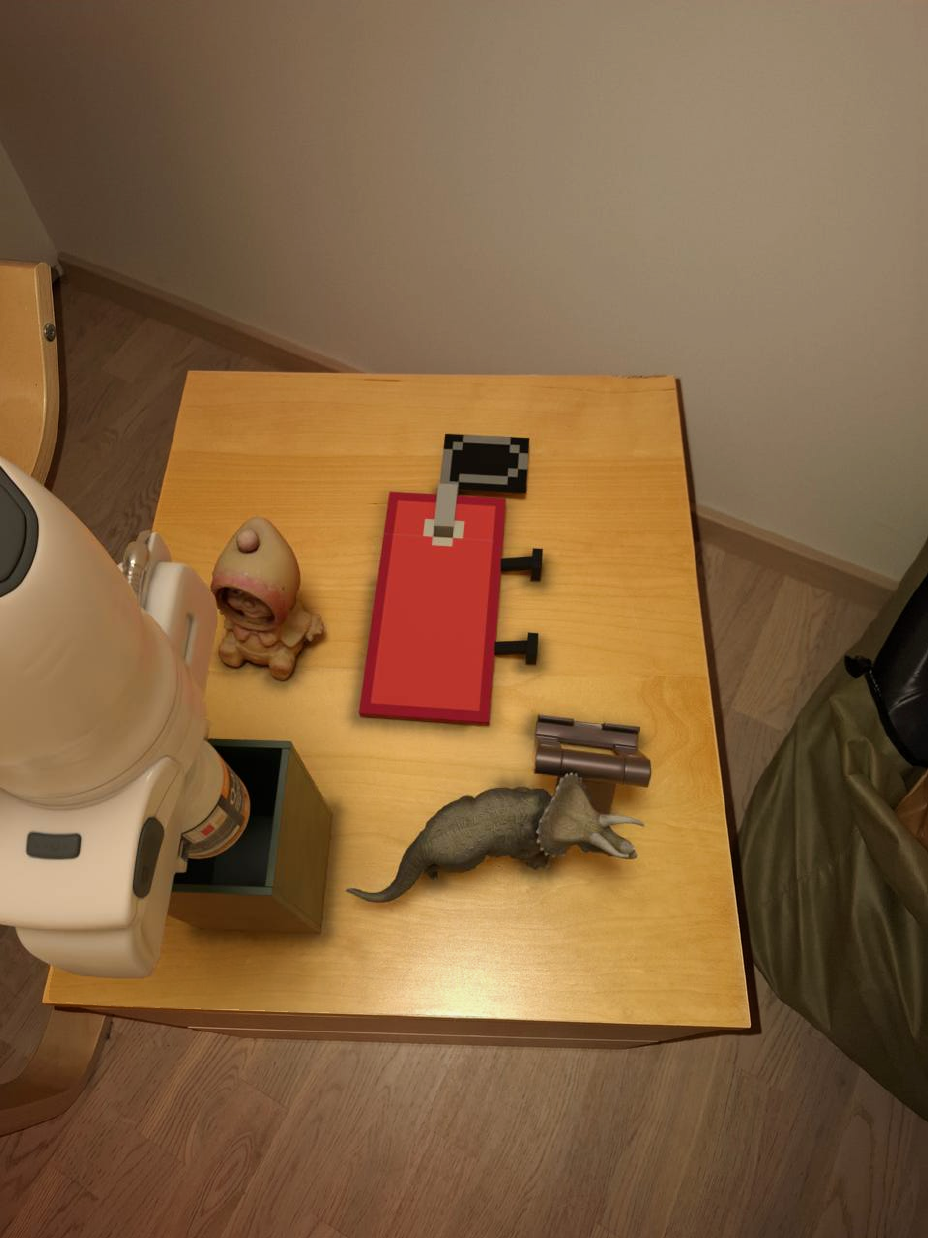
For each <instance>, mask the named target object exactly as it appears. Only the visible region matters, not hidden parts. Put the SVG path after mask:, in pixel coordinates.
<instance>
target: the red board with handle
mask: <svg viewBox="0 0 928 1238" xmlns="http://www.w3.org/2000/svg"><path fill="white" fill-rule="evenodd" d="M529 449H530V437H516V436H497V435H481V434H480V435H478V434H460V433H445V434H444V442H443V449H442V459H441V467H440V477H439V483H438V484H437V493H419V492H404V491H403V492H400V491H389V493H388V498H387V507H386V514H385V521H384V528H383V535H382V543H381V549H380V556H379V564H378V571H377V579H376V586H375V592H374V599H373V608H372V614H371V622H370V629H369V636H368V642H367V650H366V658H365V664H364V672H363V677H362V678H363V679H362V687H361V694H360V701H359V707H358V715H359V717H366V718H379V719H392V720H404V721H405V720H406V721H419V722H420V721H421V722H422V721H423V722H433V723H448V724H449V723H450V724H461V725H462V724H463V725H475V726H476V725H477V726H479V725H480V726H490V720H491V708H492V694H493V679H494V667H495V666H494V665H495V656H517V655H519V656H520V655H525V665H528V666H529V665H531V666H536V665H537V660H538V653H539V652H538V651H539V636H540V635H539V632H530V631H529V632H527V638H526V639H524V640H523V639H522V640H497V641H496V639H497V627H498V615H499V614H498V612H499V601H500V600H499V599H500V586H501V573H508V572H524V571H525V572H526V571H530V579H529V580H530V582H541V580H542V573H543V572H542V570H543V556H544V548H534V547H533V548H532V552H531V555H530V556H515V557H503V547H504V533H505V522H506V521H505V520H506V506H507V498H506V497H491V496H475V495H474V496H471V495H459V491H467V492H468V491H469V492H487V493H488V492H489V493H504V494H506V493H507V494H519V495H521V494H523V495H525V494H527V483H528V466H529V452H530V451H529Z"/></svg>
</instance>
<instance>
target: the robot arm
mask: <svg viewBox="0 0 928 1238" xmlns="http://www.w3.org/2000/svg"><path fill="white" fill-rule="evenodd" d="M218 618H219V614H218V608H217V604H216V599H215V596H214V594H213V593H212V591H211V588H210V586H208V584H207V583H206V581H205V580H204V579H203V578H202V577H201V576H200V575H199V573H198V572H197V571H196V570H195V569H194V568H193V567H191V566H190V565H189V564H187V563H185V562H179V561H172V555H171V551H170V549H169V547H168V546H167V544H166V542H165V540H164V539H163V537H162V535H160V533H159V532H158V531H154V530H151V529H145V530H142V531H141V532H139V534H138V536H137V538H136V540H134V541H130V542H129V543H128V545H127V546H126V548H125V551H124V554H123V558H122V561H121V562H120V563H118V564H117V563H116V562H115V560H114V559H113V558H112V557H111V555H110V553H108V551H107V549H106V548H105V547H104V546H103V545H102V544H101V542H100V541H99V540H98V539H97V537H96V536H95V535H94V534H93V533H92V531H91V530H90V528H88V527H87V526H86V525H85V523H84V522H83V521H82V520H81V519H80V518H79V517H78V516H77V515H76V514H75V513H74V512H73V511H72V510H71V509H70V508H69V507H68V506H67V505H66V504H65V503H64V502H63V501H62V500H61V499H59V498H58V497H57V496H56V495H54V494H53V492H51V490H49V489H48V488H47V487H45V485H43V484H41V482H40V481H38V480H37V479H36V478H34V477H33V476H31V475H30V474H29V473H28V472H26V471H25V470H23V469H21V468H20V467H19V466H17V465H15V464H14V463H13V462H11V461H10V460H8V459H6V458H5V457H4V456H2V455H0V925H3V926H7V927H14V928H15V931H16V935H17V938H18V939H19V941H20V943H21V945H22V946H23V947H24V949H25V950H26V951H28V953H30V954H31V955H32V956H34V957H35V958H37V959H38V960H40V961H42V962H43V963H46V964H48V965H49V966H51V967H53V968H56V969H58V970H60V971H63V972H66V973H69V974H73V975H77V976H82V977H92V978H106V979H107V978H108V979H147V978H149V977H151V975H152V974H153V973H154V971H155V969H156V967H157V966H158V964H159V962H160V958H161V955H162V949H163V942H164V936H165V931H166V925H167V918H168V915H167V913H168V907H169V902H170V896H171V890H172V884H173V878H174V874H175V873H176V872H186V869H187V863H188V857H189V850H190V845H189V844H187V842H185V841H184V840H180V838H181V832H182V826H183V820H184V814H185V808H186V798H185V796H184V793H185V788H186V782H187V776H188V771H189V770H190V768H191V766H192V765H193V763H194V761H195V759H196V757H197V755H198V753H199V750H200V748H201V745H202V742H203V740H205V741H208V738H209V736H210V730H211V722H210V721H209V719H208V718H207V704H206V698H205V697H206V691H207V686H208V679H209V673H210V667H211V662H212V655H213V650H214V645H215V639H216V633H217V627H218V622H219V621H218Z"/></svg>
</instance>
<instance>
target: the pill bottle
mask: <svg viewBox="0 0 928 1238" xmlns="http://www.w3.org/2000/svg"><path fill="white" fill-rule="evenodd" d="M184 796H185V798H186V808H185V814H184V820H183V826H182V832H181V838H180V840H184V841H185V842H187V844H189V845H190V850H189V857H188V858H196V859H201V858H208V857H212V856H215V855H218V854H220V853H222V852H224V851H225V850H227V849H228V848H229V847H231V846H232V845H233V844H234V843H235V842H236V841H237V840H238V839H239V837H240V836H241V834H242V833H243V831H244V829H245V828H246V825H247V823H248V819H249V814H250V799H249V795H248V792H247V790H246V787H245V786H244V784H243V783H242V781H241V780H240V779H239V777H238V776H237V775H236V774H235V773H234V771H233V770H232V769H231V768H230V767H229V766H228V764H227V763H226V762H225V761H224V760H223V759H222V757H221V756H220V755H219V753H218V752H217V751H216V750H215V749H214V748H213V746H212V745H211V744H210V743H208V742H207V741H205V740H203V742H202V745H201V748H200V750H199V753H198V755H197V757H196V759H195V761H194V763H193V765H192V766H191V768H190V770H189V771H188V776H187V782H186V788H185V793H184Z"/></svg>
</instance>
